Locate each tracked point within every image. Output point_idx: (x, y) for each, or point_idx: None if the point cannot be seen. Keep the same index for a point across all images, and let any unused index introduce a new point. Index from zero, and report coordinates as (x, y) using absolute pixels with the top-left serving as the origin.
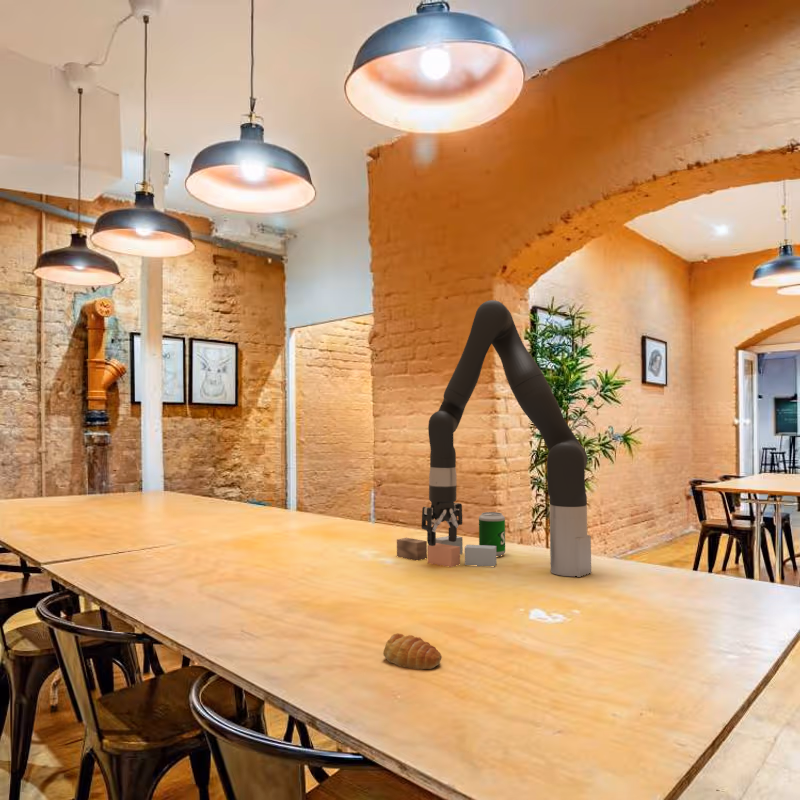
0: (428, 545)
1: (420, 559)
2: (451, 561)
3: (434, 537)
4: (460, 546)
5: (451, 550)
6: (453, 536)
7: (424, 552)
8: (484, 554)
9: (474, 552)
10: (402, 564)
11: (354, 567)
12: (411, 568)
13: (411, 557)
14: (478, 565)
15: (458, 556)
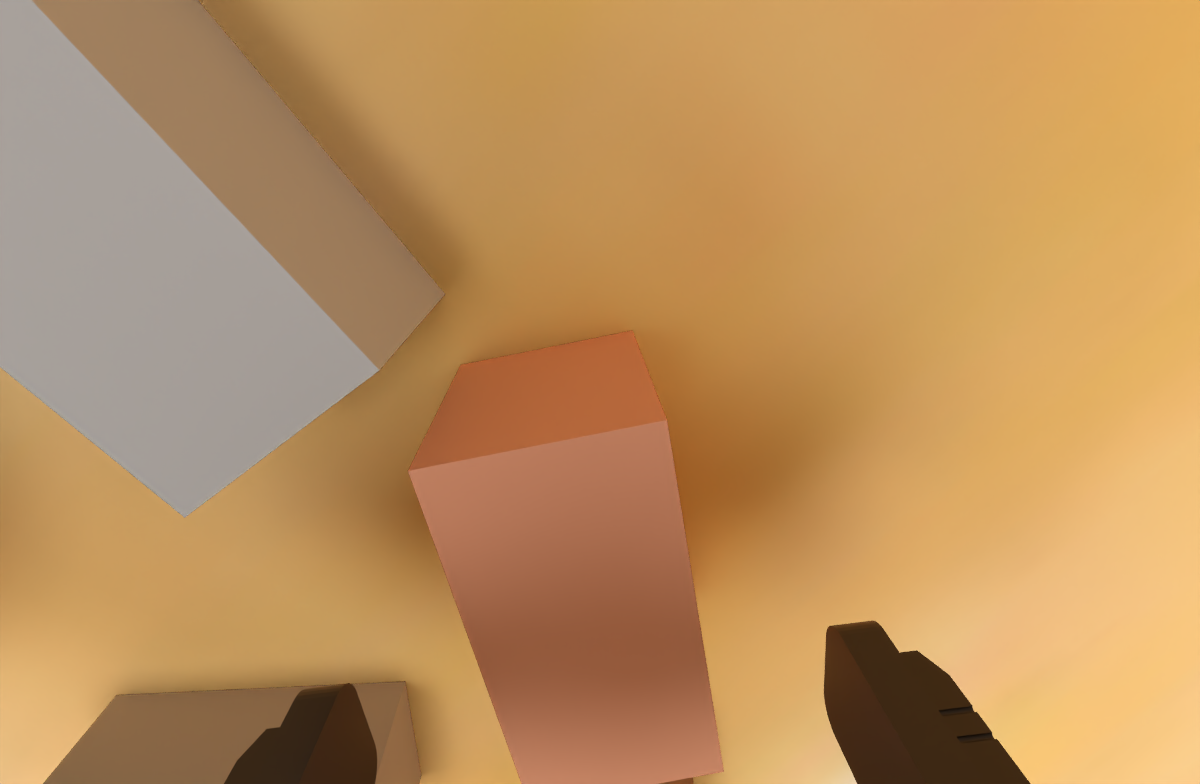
0: (721, 758)
1: None
2: (635, 352)
3: (941, 735)
4: (87, 771)
5: (655, 409)
6: (318, 776)
7: None
8: (136, 37)
9: (274, 204)
10: None
11: (1180, 776)
12: (952, 532)
13: None
14: (314, 145)
15: (474, 398)
